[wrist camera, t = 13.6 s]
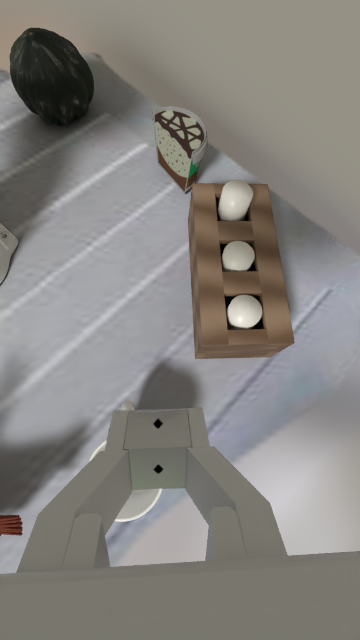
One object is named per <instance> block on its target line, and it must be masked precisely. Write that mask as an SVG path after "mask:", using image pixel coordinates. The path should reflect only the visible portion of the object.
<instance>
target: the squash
mask: <svg viewBox="0 0 360 640" xmlns="http://www.w3.org/2000/svg"><path fill="white" fill-rule="evenodd" d="M10 63H11V65H10V75H11V79H12V83H13V85H14V88H15V90H16V92H17V93H18V95H19V97H20V98H21V99H22V100H23V102H24V103H25V104H26V106H27V107H28V108H29V109H30V110H31V111H32V112H33V113H35V114H38V115H39V116H40V117H41V118H42V119H43V120H44V121H45V122H46V123H48V124H50V125H54V124H56V123H57V122H58V121H60V122H61V123H63V124H64V125H68V124H69V123H70V122H71V121H72V119H73V117H78V118H81V117H83V116H85V115H86V113H87V111H88V105H89V104H90V102H91V100H92V97H93V92H94V82H93V76H92V73H91V70H90V68H89V66H88V64H87V63H86V61H85V60H84V59H83V57H82V56H81V55H80V54H79V52H78V50H77V48H76V47H75V46H74V45H73V44H72V43H71V42H70V41H69V40H67V39H65V38H64V37H61V36H59V35H58V34H56V33H55V32H52V31H49V30H46V29H41V28H29V29H27V30H26V31H24V32H23V34H22V35H21V36H20V37H19V38H18V39H17V40H16V41H15V42H14V44H13V46H12V48H11V53H10Z"/></svg>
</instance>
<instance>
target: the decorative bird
mask: <svg viewBox="0 0 360 640" xmlns="http://www.w3.org/2000/svg"><path fill="white" fill-rule="evenodd" d="M20 521H21V518H19V515H0V536H1V535H2V534H6V535H22V527H21V525H22V522H20Z"/></svg>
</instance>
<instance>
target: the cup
mask: <svg viewBox="0 0 360 640" xmlns="http://www.w3.org/2000/svg"><path fill="white" fill-rule="evenodd" d="M122 410H135V408H134V405H133V403H132V402H131V401H126V402H125V403H124V404H123V406H122ZM106 442H107V439H106V440H105V441H104V442H102V443H101V444H100V445H99V446H98V447H97V449H96V450H95V451H94V453H93V454H92V456H91V458H90V460H89V462H90V461H91V460H92V459H93V458H94V457H95V456H96V455H97V454H98V453H99V452H100V451H105V446H106ZM89 462H88V463H89ZM161 492H162V489H148V490H135V491H132V494H131V495H130V497H129V498H128V500H127V501H126V503H125V505H124V506H123V508H122V509H121V511H120V513H119V514H118V516H117V517H116V519H115V520H114V521H131V520H134V519H137V518H139V517H141V516H142V515H144V514H145V513H147V512H148V511H149V510H150V509H151V508H152V507H153V506H154V504H155V503H156V502H157V500H158V498H159V496H160V494H161Z"/></svg>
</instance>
